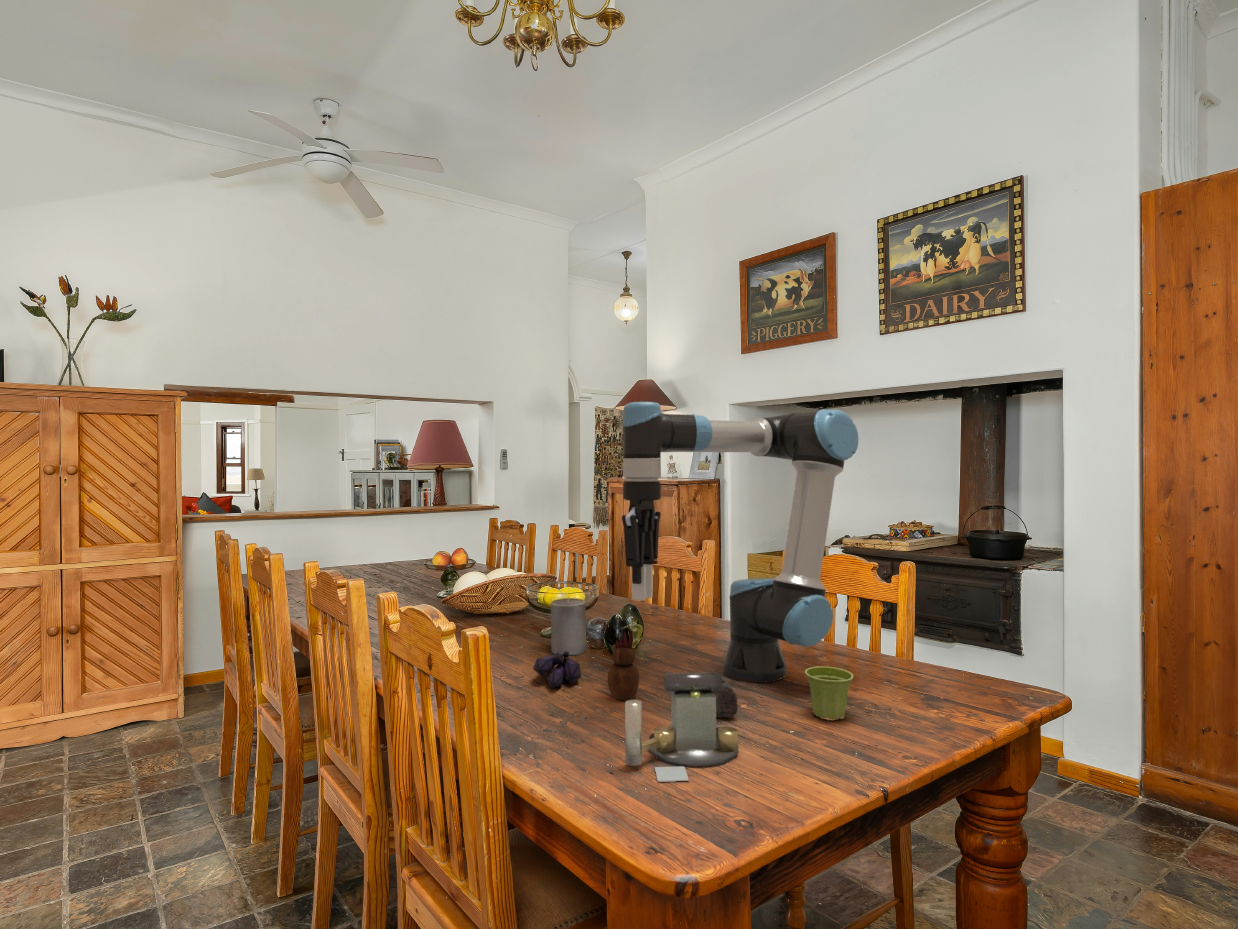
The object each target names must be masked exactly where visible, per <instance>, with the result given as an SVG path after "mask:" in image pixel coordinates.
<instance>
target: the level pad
mask: <svg viewBox="0 0 1238 929" xmlns="http://www.w3.org/2000/svg"><path fill="white" fill-rule="evenodd" d="M654 771H655V772H656V773H655V772H654V773H655V776H656V780H657V783H658V782H669V783H676V782H675V781H689V782H690V780H689V776H688V774H687V770H686V767H684V766H654ZM673 781H674V782H673Z"/></svg>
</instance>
